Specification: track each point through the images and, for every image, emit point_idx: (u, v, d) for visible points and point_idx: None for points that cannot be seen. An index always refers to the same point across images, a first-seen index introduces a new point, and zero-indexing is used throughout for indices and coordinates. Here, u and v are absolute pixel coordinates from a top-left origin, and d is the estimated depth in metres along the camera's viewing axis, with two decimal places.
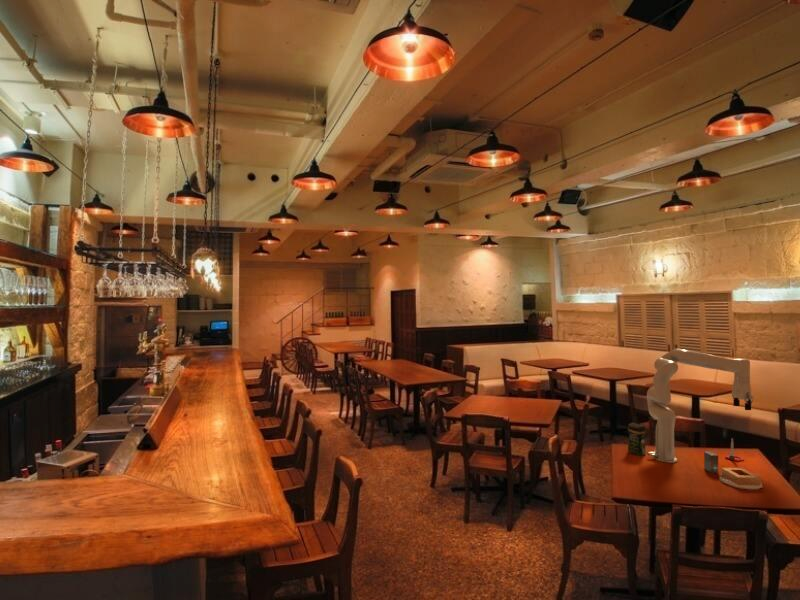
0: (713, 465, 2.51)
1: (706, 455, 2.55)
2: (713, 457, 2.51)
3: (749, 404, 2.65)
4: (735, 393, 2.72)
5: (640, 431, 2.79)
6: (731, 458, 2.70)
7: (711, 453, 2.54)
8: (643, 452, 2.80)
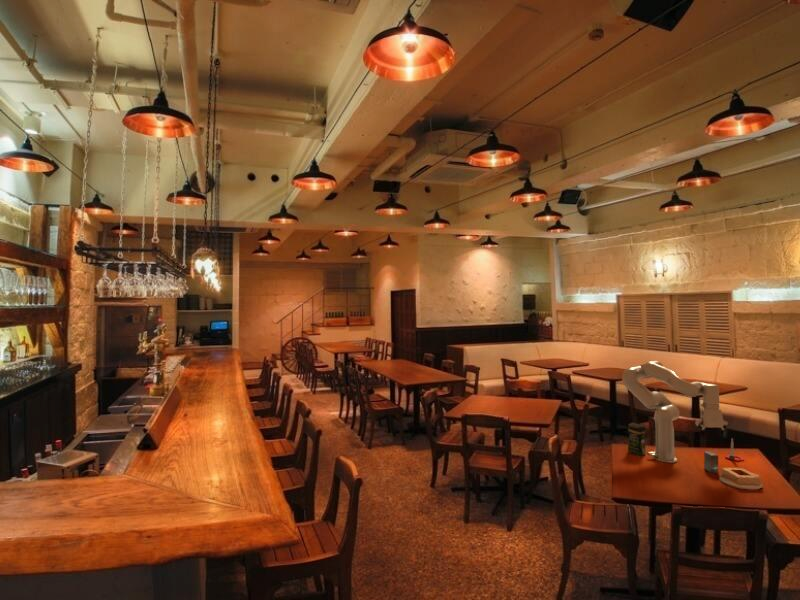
0: (713, 465, 2.51)
1: (706, 455, 2.55)
2: (713, 457, 2.51)
3: None
4: (711, 423, 2.51)
5: (640, 431, 2.79)
6: (731, 458, 2.70)
7: (711, 453, 2.54)
8: (643, 452, 2.80)
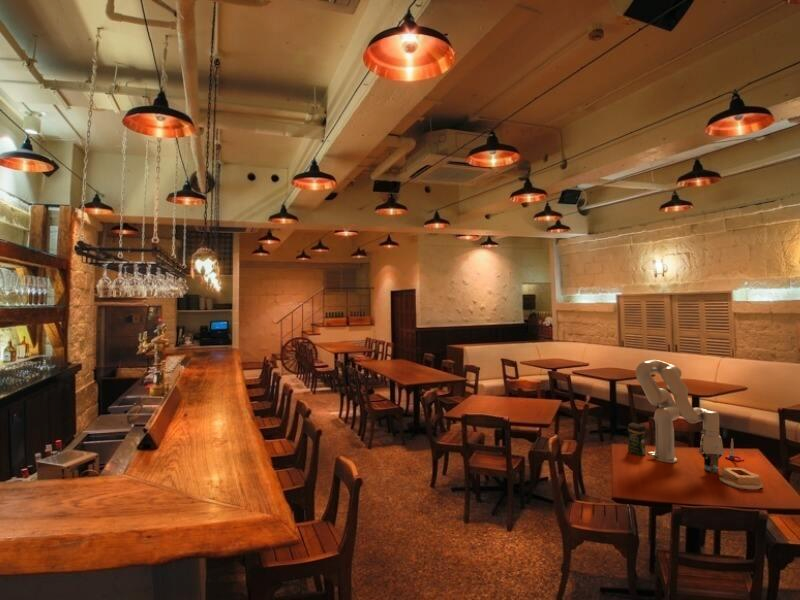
0: (713, 465, 2.51)
1: None
2: (713, 457, 2.51)
3: None
4: (711, 450, 2.52)
5: (640, 431, 2.79)
6: (731, 458, 2.71)
7: None
8: (643, 452, 2.80)
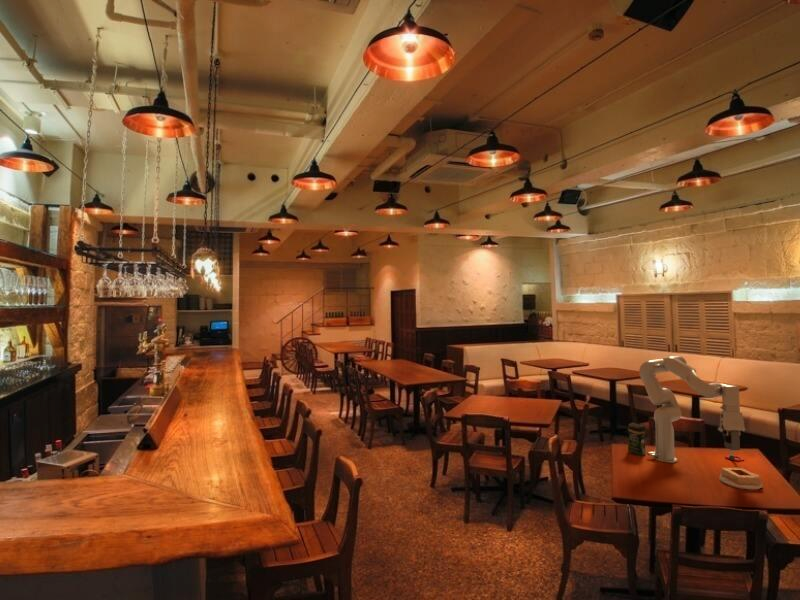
0: (734, 441, 2.40)
1: None
2: (734, 433, 2.40)
3: None
4: (732, 426, 2.40)
5: (640, 431, 2.79)
6: (731, 458, 2.71)
7: None
8: (643, 452, 2.80)
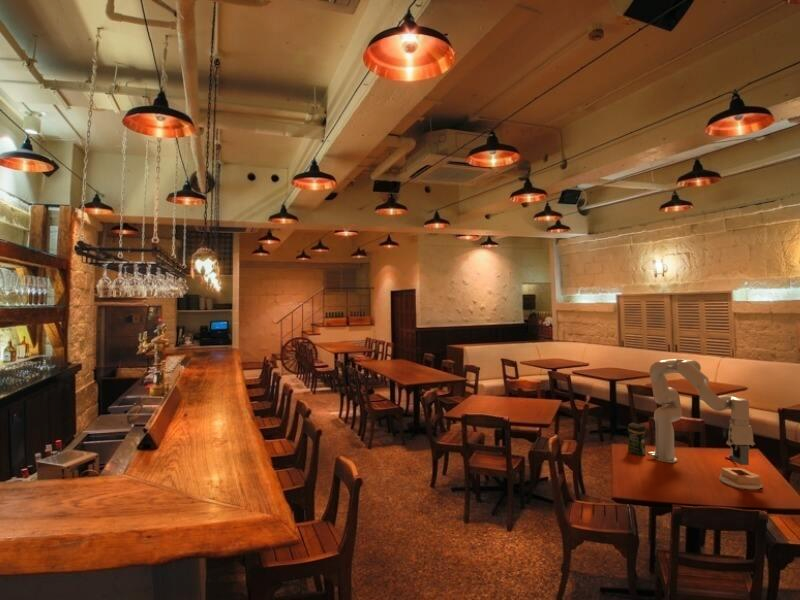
0: (743, 456, 2.35)
1: None
2: (743, 448, 2.35)
3: None
4: (741, 440, 2.35)
5: (640, 431, 2.79)
6: (731, 458, 2.71)
7: None
8: (643, 452, 2.80)
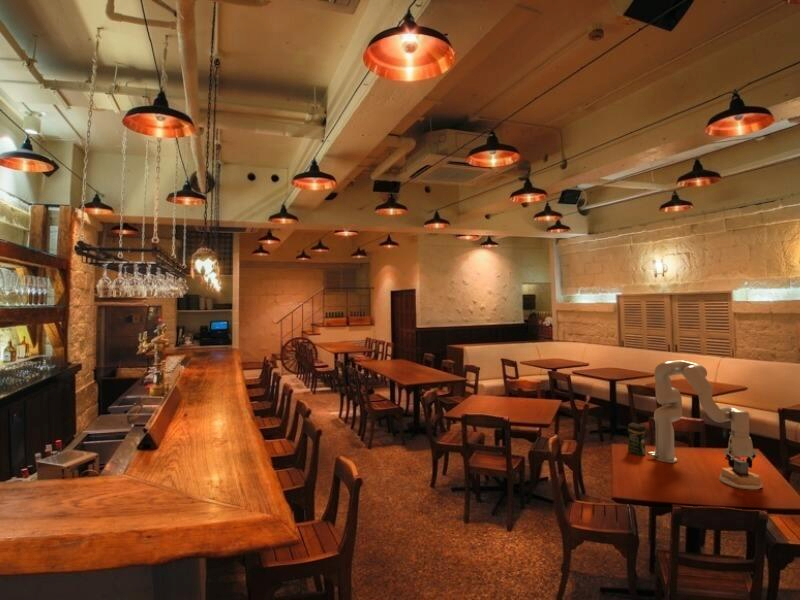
0: (742, 473, 2.35)
1: (735, 463, 2.39)
2: (743, 465, 2.35)
3: None
4: (740, 452, 2.35)
5: (640, 431, 2.79)
6: None
7: (740, 461, 2.38)
8: (643, 452, 2.80)
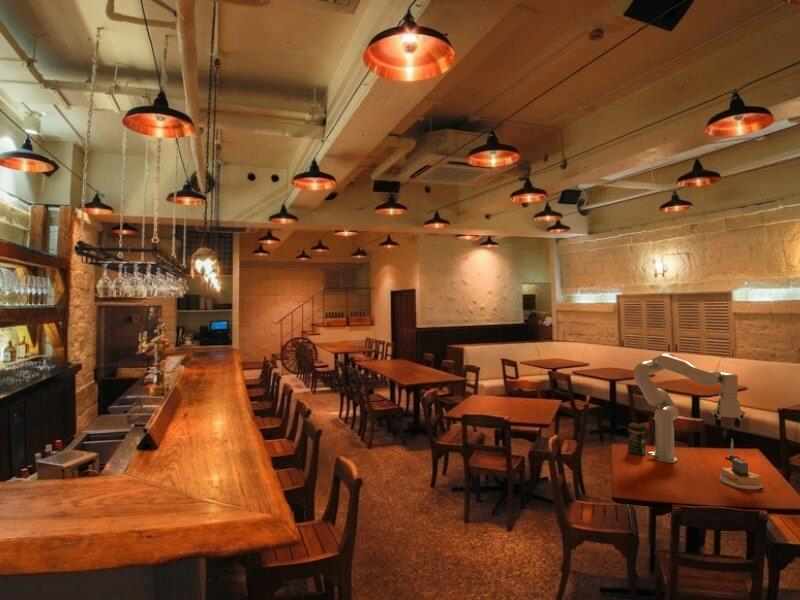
0: (742, 473, 2.35)
1: (734, 463, 2.39)
2: (742, 465, 2.35)
3: None
4: (728, 412, 2.47)
5: (640, 431, 2.79)
6: (731, 458, 2.71)
7: (740, 461, 2.38)
8: (643, 452, 2.80)
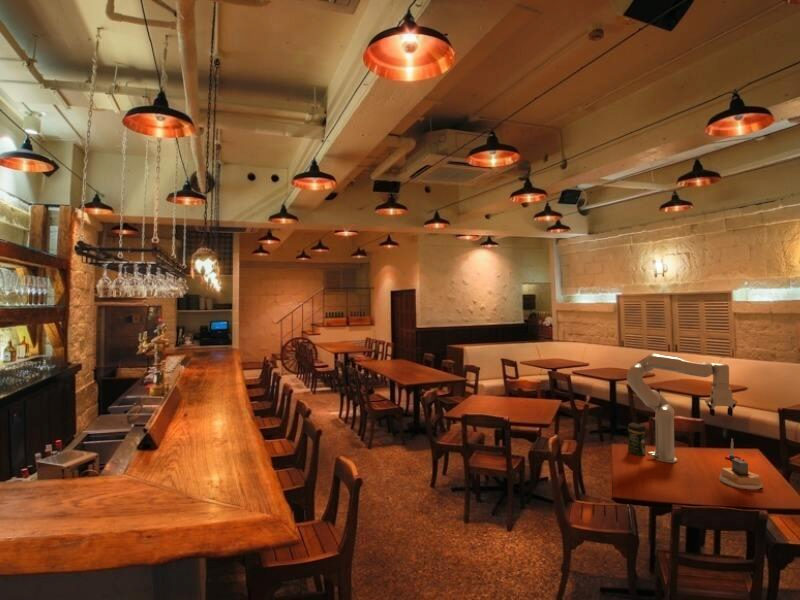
0: (742, 473, 2.35)
1: (734, 463, 2.39)
2: (742, 465, 2.35)
3: None
4: (721, 402, 2.55)
5: (640, 431, 2.79)
6: (731, 458, 2.71)
7: (740, 461, 2.38)
8: (643, 452, 2.80)
